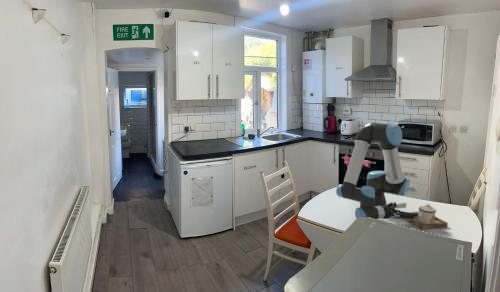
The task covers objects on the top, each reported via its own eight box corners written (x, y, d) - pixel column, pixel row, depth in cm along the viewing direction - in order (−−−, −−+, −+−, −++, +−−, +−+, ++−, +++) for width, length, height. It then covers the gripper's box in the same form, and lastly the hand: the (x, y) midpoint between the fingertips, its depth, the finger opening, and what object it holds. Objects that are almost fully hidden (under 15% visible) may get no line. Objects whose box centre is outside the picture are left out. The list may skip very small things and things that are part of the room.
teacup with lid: (433, 227, 201) (435, 208, 199) (416, 223, 206) (418, 204, 203) (435, 220, 211) (438, 202, 209) (419, 217, 216) (421, 199, 213)
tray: (402, 218, 217) (403, 214, 216) (426, 215, 220) (427, 212, 220) (421, 229, 201) (422, 225, 200) (447, 226, 204) (447, 222, 204)
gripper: (369, 210, 215) (399, 207, 220) (394, 227, 191) (428, 223, 196) (369, 199, 213) (400, 196, 218) (395, 214, 189) (429, 210, 194)
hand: (413, 209), depth 207 cm, fingers open, 13 cm apart
